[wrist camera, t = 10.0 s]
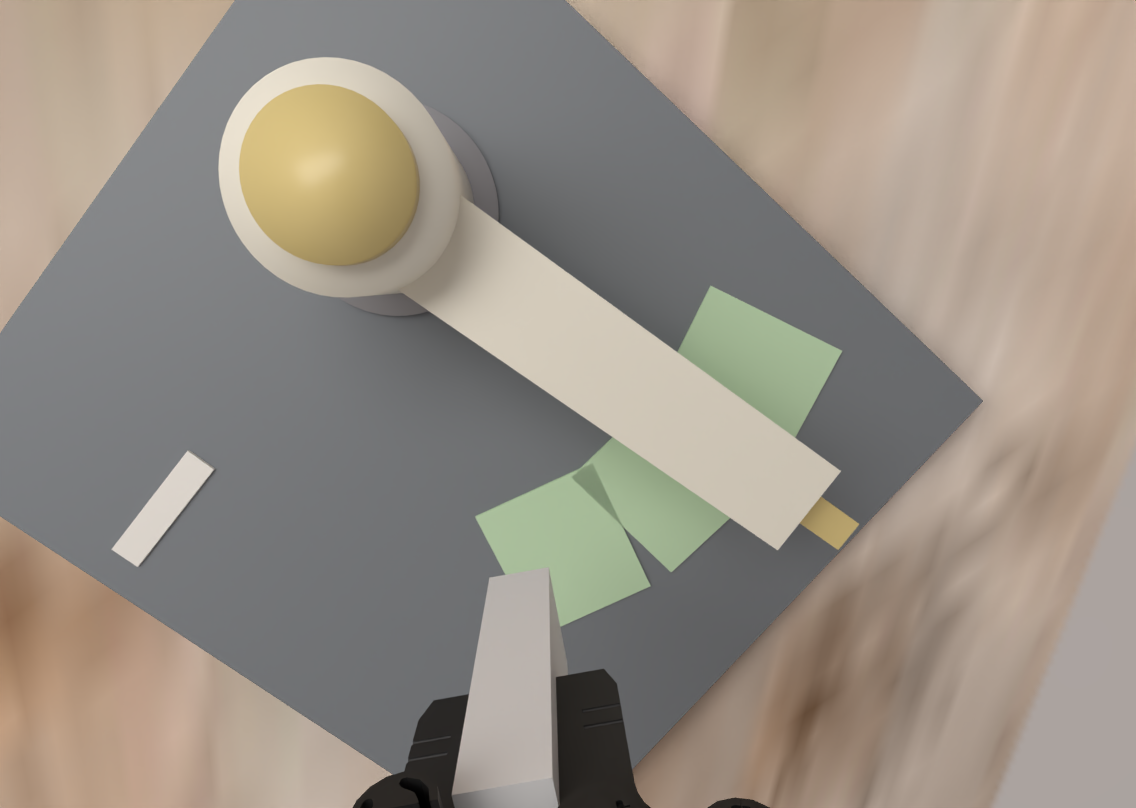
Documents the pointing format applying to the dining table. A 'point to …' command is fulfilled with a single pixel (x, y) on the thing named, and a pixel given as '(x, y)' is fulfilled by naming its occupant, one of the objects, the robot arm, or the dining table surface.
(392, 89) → the peg lever
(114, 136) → the dining table surface
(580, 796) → the robot arm
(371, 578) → the board
